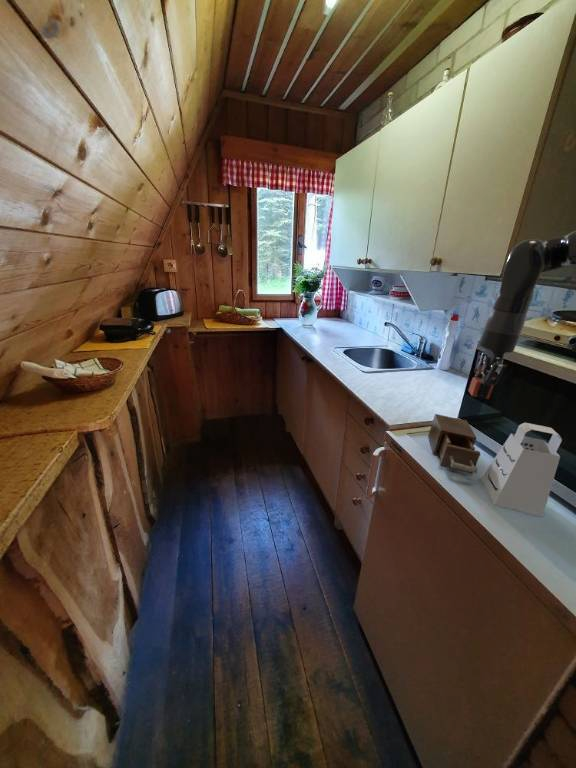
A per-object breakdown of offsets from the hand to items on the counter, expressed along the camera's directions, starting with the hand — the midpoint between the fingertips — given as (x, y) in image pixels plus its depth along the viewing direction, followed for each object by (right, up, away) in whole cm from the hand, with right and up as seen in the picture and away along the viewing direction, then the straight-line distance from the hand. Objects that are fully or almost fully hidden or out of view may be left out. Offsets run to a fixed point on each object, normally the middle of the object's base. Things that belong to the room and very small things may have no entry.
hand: (478, 393), depth 81 cm
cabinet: (0, -18, +17) cm, 25 cm away
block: (0, 0, 0) cm, 0 cm away
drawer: (-3, -21, +7) cm, 22 cm away
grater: (+7, -26, -2) cm, 27 cm away
